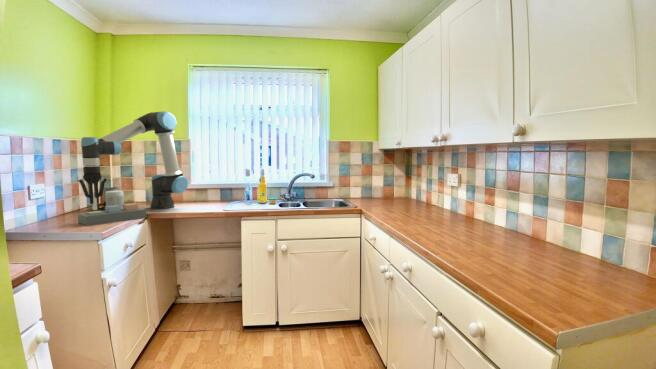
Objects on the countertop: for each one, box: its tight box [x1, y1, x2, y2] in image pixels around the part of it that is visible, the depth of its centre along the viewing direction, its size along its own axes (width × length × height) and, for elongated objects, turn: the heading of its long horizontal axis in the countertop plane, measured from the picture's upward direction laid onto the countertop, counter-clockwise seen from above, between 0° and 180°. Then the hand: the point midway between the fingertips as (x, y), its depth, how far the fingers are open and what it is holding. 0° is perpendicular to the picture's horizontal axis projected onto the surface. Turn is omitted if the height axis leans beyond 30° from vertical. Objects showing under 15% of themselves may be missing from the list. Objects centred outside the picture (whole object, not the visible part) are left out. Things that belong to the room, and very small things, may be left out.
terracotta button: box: [122, 202, 139, 211], centre depth 203 cm, size 6×6×4 cm
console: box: [77, 207, 148, 227], centre depth 196 cm, size 30×14×5 cm, turn 140°
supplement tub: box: [105, 190, 125, 209], centre depth 212 cm, size 10×10×15 cm
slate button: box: [104, 205, 121, 213], centre depth 196 cm, size 6×6×4 cm
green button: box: [85, 210, 103, 215], centre depth 189 cm, size 6×6×4 cm
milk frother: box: [96, 186, 119, 211], centre depth 235 cm, size 14×16×15 cm
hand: (94, 209), depth 189 cm, fingers closed
